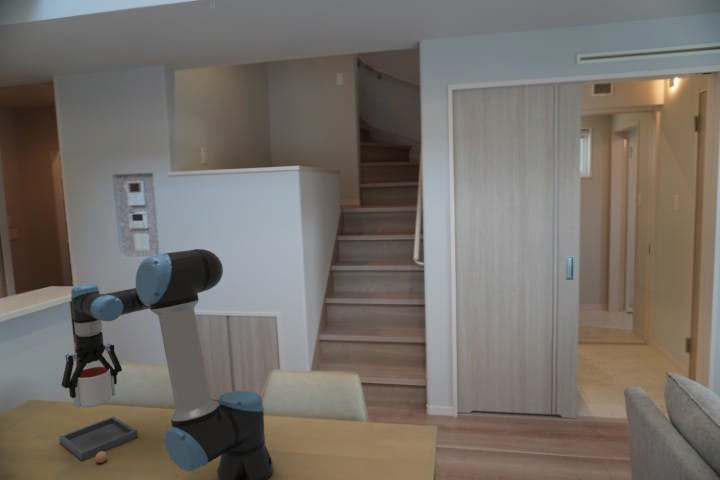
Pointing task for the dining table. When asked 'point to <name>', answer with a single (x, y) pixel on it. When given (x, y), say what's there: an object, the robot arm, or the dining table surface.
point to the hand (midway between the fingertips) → (95, 400)
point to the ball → (101, 457)
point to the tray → (97, 438)
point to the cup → (94, 386)
